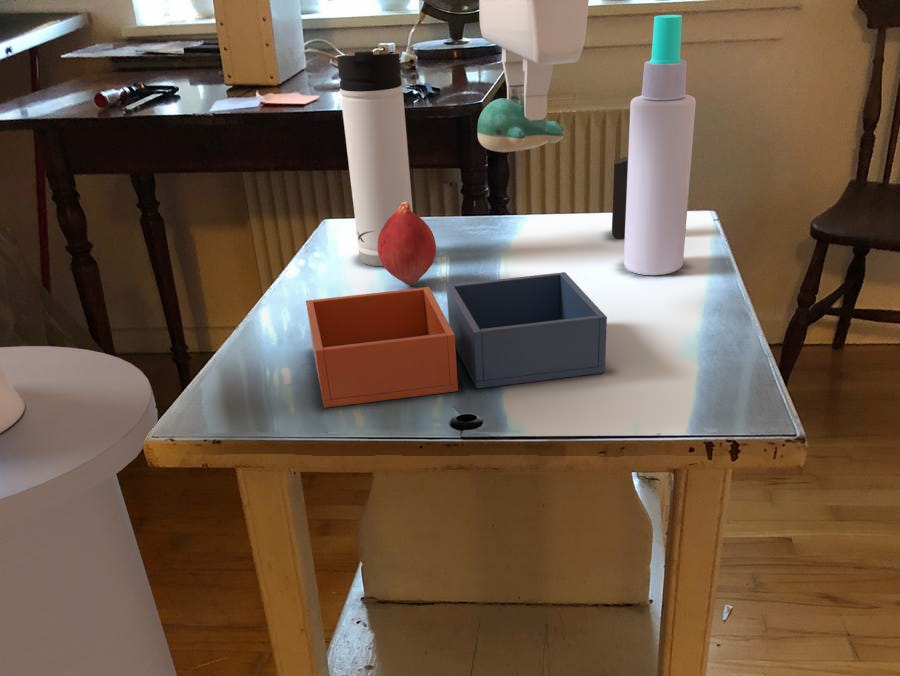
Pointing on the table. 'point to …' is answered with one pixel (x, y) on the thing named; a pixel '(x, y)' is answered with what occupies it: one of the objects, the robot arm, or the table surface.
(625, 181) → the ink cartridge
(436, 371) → the terracotta bin
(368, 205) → the travel mug
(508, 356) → the blue bin
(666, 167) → the spray bottle
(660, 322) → the table surface
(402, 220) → the onion
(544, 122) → the whale figurine
